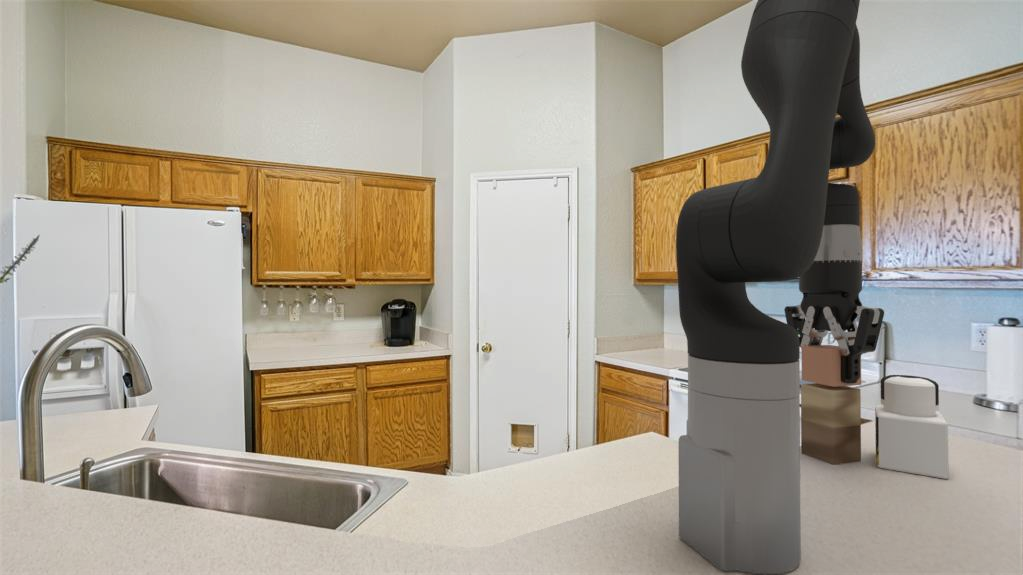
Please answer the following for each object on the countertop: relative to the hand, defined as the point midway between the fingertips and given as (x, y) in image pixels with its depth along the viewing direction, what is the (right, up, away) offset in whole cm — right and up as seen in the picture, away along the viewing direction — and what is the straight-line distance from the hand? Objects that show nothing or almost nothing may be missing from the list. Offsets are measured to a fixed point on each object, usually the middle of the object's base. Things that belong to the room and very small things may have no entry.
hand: (830, 378), depth 69 cm
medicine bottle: (+8, -11, -4) cm, 14 cm away
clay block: (0, 0, 0) cm, 0 cm away
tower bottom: (0, -11, 0) cm, 11 cm away
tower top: (0, -6, 0) cm, 6 cm away
